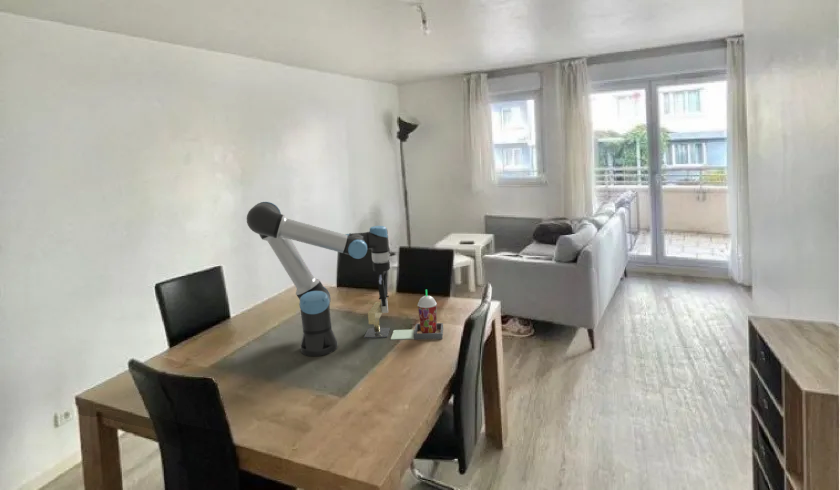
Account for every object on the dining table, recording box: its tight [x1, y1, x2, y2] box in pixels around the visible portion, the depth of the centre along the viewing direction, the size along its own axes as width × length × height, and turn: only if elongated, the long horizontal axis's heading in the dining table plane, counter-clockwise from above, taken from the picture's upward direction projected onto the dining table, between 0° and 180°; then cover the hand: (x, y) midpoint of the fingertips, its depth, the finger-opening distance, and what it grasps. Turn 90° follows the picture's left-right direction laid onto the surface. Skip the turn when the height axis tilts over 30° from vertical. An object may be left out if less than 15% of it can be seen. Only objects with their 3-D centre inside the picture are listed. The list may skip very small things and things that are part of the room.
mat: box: [390, 329, 415, 341], centre depth 216 cm, size 10×10×1 cm
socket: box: [413, 322, 444, 341], centre depth 215 cm, size 12×12×2 cm
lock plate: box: [363, 327, 391, 339], centre depth 220 cm, size 10×10×1 cm
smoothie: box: [417, 289, 438, 333], centre depth 214 cm, size 8×8×20 cm
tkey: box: [367, 301, 383, 332], centre depth 218 cm, size 15×3×11 cm, turn 172°
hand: (385, 312), depth 223 cm, fingers closed
